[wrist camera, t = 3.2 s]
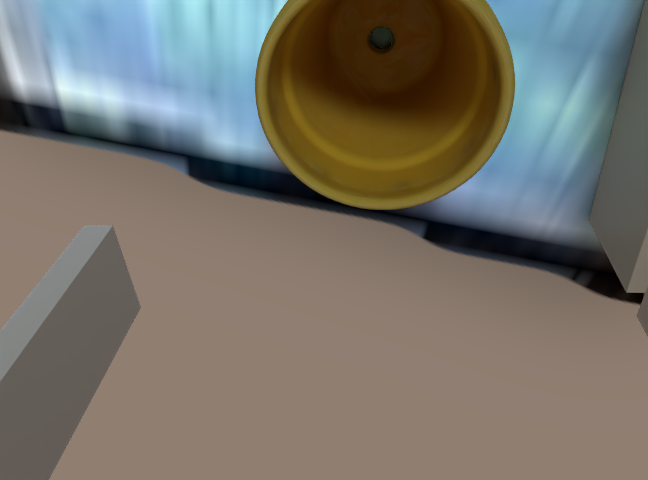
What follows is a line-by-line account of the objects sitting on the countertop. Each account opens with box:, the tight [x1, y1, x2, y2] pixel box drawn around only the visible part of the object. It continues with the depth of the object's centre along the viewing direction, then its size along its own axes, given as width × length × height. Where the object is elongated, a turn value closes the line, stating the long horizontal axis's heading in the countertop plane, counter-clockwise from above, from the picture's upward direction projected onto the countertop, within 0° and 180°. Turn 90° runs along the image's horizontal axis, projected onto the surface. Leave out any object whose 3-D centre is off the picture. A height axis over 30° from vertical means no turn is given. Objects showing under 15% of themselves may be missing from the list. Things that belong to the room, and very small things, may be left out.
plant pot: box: [255, 0, 515, 210], centre depth 26 cm, size 10×10×10 cm
